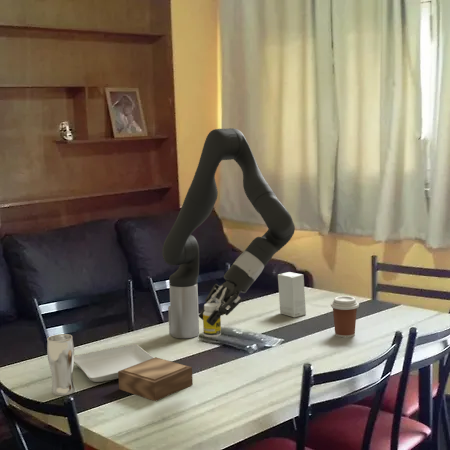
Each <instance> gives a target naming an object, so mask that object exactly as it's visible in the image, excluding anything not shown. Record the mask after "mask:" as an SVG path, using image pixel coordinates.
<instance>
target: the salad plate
mask: <svg viewBox="0 0 450 450" xmlns="http://www.w3.org/2000/svg"><path fill="white" fill-rule="evenodd" d="M152 358H155V357H154V356H153V355H151V354H150V353H149V352H147V351H146V350H144V348H142V347H141V346H140V345H138V344H137V343H132V344H125V345H120V346H115V347H111V348H105V349H100V350H95V351H91V352H86V353H81V354H74V365H75V366H77V367H78V368H79V369H80V370H82V372H84V374H85V376H87V377H88V379H89V380H90V381H92V382H93V383H101V382H107V381H112V380H117V379H118V380H119V378H118V371H121V370H123V369H126V368H129V367H131V366H134V365H136V364H139V363H142V362H144V361H147V360H150V359H152Z"/></svg>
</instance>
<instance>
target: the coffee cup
mask: <svg viewBox="0 0 450 450" xmlns="http://www.w3.org/2000/svg"><path fill="white" fill-rule="evenodd" d="M330 307H331V308H332V314H333V325H334V335H335V336H336V337H339V338H352V337H355V335H356V322H357V312H358V308H359V307H360V303H359V302H358V301H357V300H356V298H355V297H354V296H349V295H340V296H336V297H333V301H331V302H330Z"/></svg>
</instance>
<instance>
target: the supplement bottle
mask: <svg viewBox="0 0 450 450" xmlns="http://www.w3.org/2000/svg"><path fill="white" fill-rule="evenodd" d="M217 306H218V303H216V302H215V303H207V304H206V303H204V305H203V309H204V310H205V311H204V312H203V320H202V322H203V325H202V326H203V329H202V330H203V336H204V337H206V338H207V337H208V338H216V337H220V336H221V334H222V327H221V326H222V324H221V322H222V318H221V317H222V315H221V316H220V318H219V319H218V320H217V321H216V323H215V324H214V325H213V326H211V325H210V324H209V323H208V322H207V319H208V318H209V317H210V315H211V314H212V313H213V311H214V310H215V311H216V308H217Z"/></svg>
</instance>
